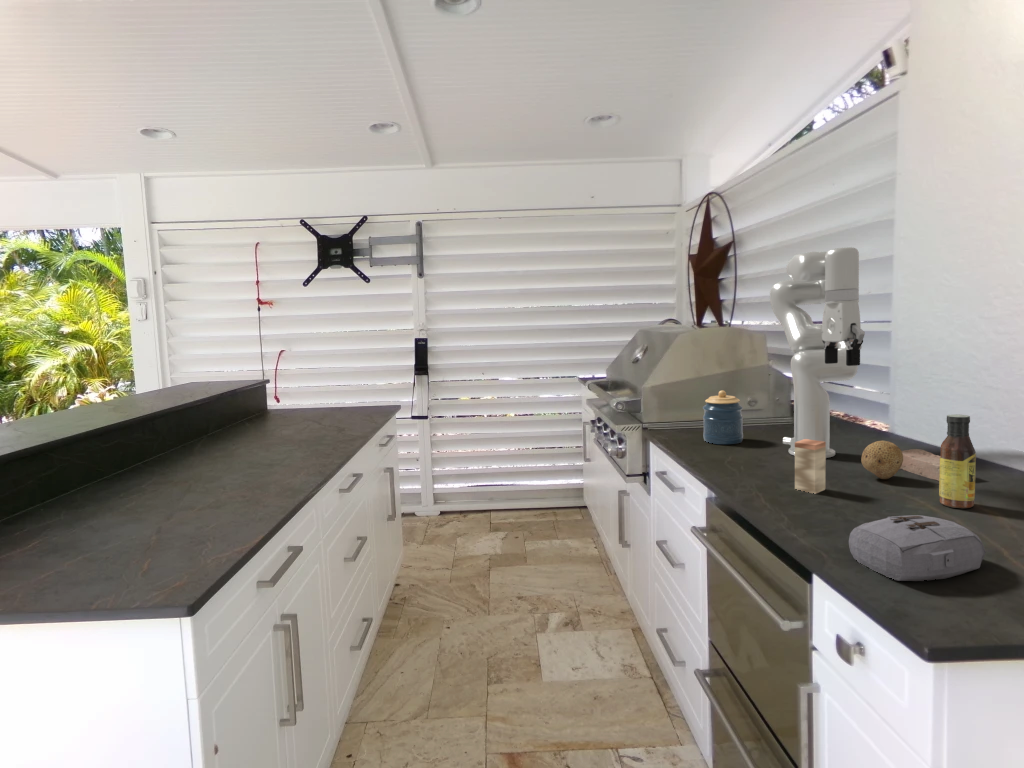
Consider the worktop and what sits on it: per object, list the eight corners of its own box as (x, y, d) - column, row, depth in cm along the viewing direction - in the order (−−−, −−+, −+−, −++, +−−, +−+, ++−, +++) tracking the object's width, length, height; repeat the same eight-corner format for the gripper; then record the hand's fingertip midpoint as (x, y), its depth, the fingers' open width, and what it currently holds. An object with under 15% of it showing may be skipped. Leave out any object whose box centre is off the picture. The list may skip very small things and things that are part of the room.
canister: (699, 443, 199) (698, 392, 197) (708, 436, 210) (707, 387, 208) (739, 446, 192) (738, 393, 190) (746, 438, 203) (745, 388, 201)
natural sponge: (880, 485, 144) (880, 446, 143) (852, 476, 152) (852, 439, 151) (911, 481, 146) (912, 442, 144) (882, 472, 154) (882, 435, 153)
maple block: (794, 489, 144) (794, 442, 143) (805, 485, 147) (805, 438, 146) (815, 493, 140) (815, 445, 139) (825, 489, 143) (825, 441, 142)
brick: (972, 480, 145) (973, 462, 144) (941, 483, 144) (942, 465, 143) (918, 465, 161) (919, 448, 160) (890, 467, 160) (891, 450, 159)
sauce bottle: (976, 511, 123) (979, 419, 121) (939, 507, 127) (942, 417, 125) (972, 502, 129) (975, 413, 127) (937, 498, 132) (939, 412, 130)
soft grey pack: (907, 592, 92) (1009, 574, 96) (908, 541, 91) (1011, 525, 95) (836, 555, 106) (927, 541, 110) (836, 511, 105) (928, 498, 109)
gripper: (809, 300, 157) (809, 363, 159) (846, 296, 140) (846, 367, 141) (837, 298, 157) (837, 362, 159) (877, 294, 140) (877, 365, 141)
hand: (841, 364), depth 150 cm, fingers open, 9 cm apart
